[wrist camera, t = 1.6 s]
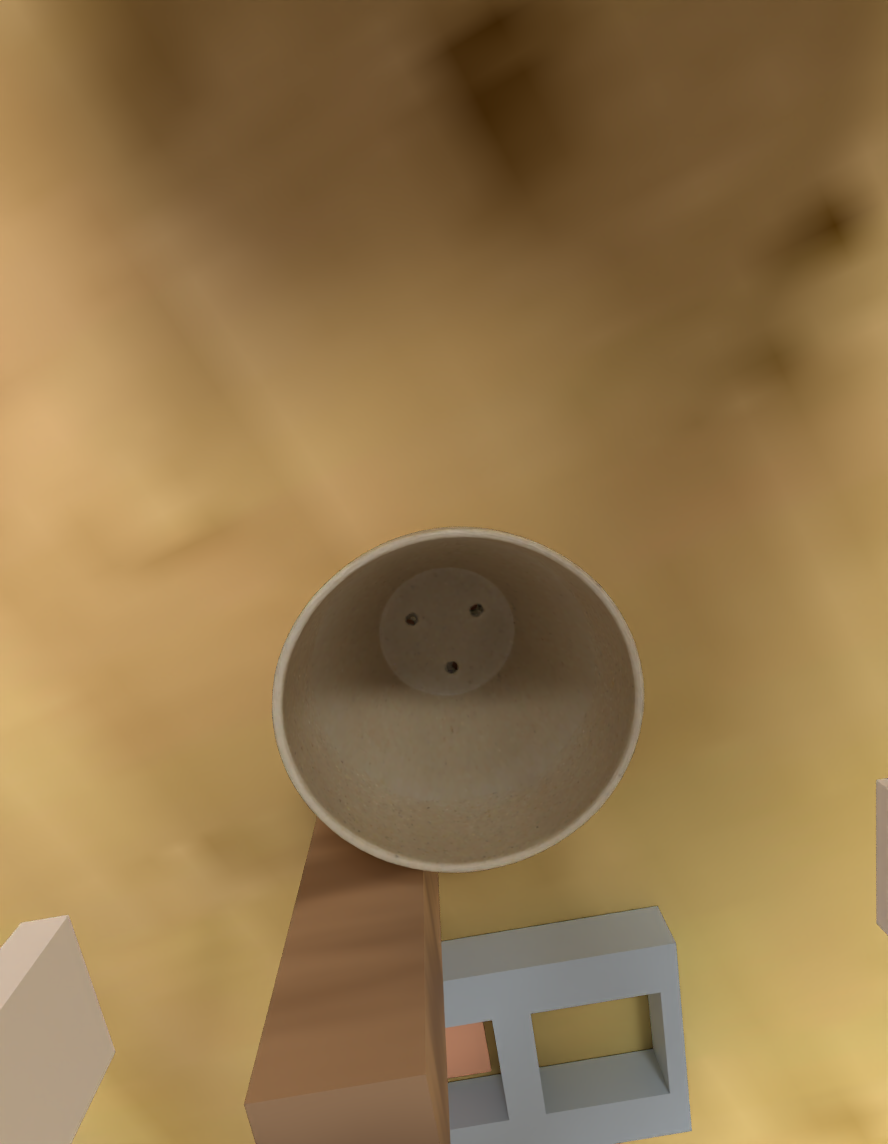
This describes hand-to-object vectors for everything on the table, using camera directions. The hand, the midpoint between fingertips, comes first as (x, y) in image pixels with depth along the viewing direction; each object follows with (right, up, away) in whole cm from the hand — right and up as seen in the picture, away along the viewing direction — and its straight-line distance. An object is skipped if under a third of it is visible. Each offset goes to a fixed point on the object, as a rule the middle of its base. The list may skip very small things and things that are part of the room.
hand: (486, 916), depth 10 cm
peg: (-3, -5, +16) cm, 17 cm away
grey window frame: (+2, -15, +18) cm, 24 cm away
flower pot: (-1, +3, +14) cm, 14 cm away
